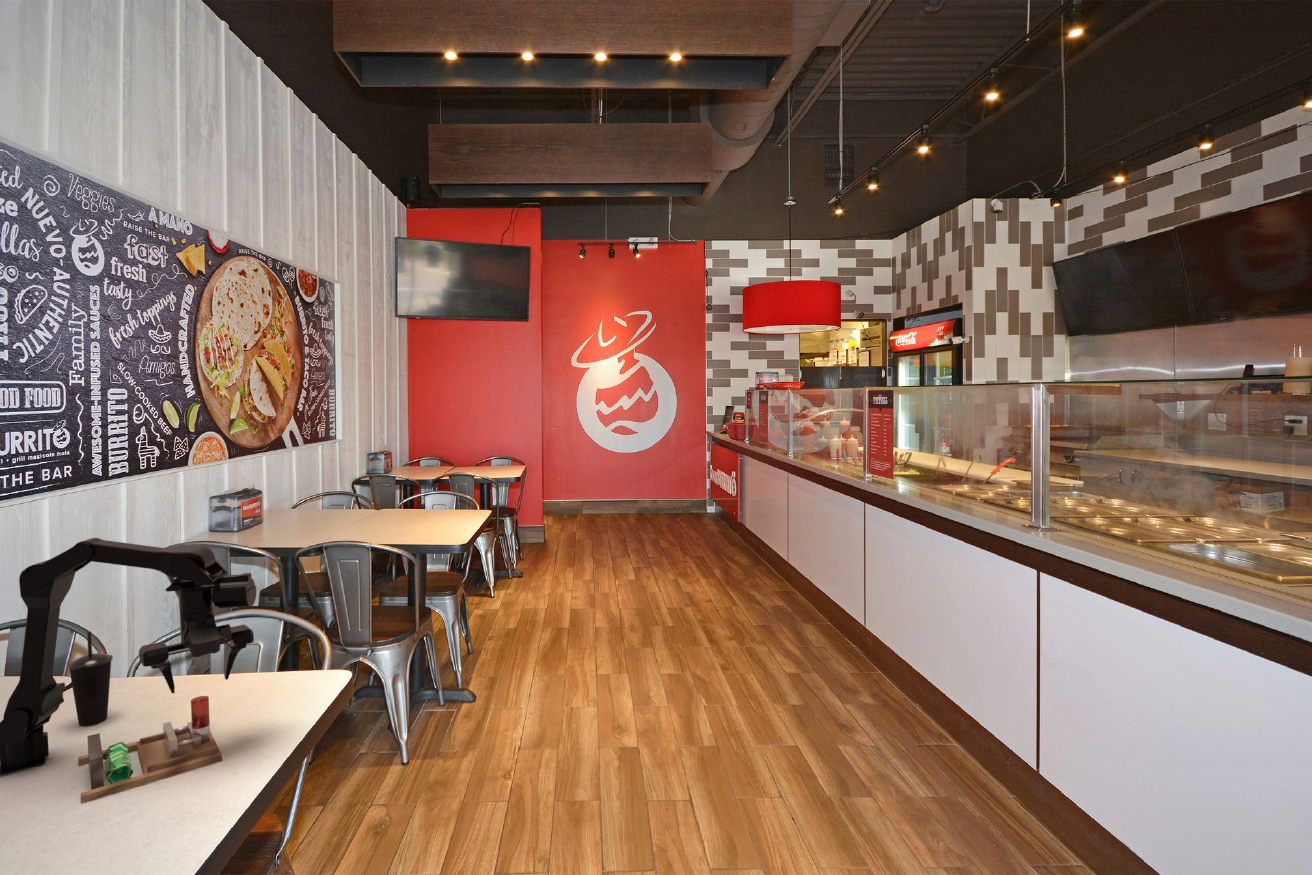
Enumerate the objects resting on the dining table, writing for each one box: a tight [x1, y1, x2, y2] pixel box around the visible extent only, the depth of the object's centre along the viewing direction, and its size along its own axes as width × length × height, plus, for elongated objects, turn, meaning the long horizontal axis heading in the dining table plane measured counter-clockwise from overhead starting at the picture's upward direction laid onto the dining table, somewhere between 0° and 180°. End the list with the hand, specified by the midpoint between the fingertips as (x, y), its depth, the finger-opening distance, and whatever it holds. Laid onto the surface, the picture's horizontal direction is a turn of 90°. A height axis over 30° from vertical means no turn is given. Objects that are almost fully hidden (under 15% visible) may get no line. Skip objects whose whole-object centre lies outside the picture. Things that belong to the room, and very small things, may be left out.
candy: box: [104, 741, 134, 784], centre depth 129 cm, size 12×3×4 cm
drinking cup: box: [67, 631, 114, 727], centre depth 149 cm, size 8×8×20 cm
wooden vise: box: [77, 731, 223, 804], centre depth 132 cm, size 21×18×6 cm
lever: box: [162, 695, 211, 759], centre depth 136 cm, size 7×10×8 cm
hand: (200, 685), depth 138 cm, fingers open, 9 cm apart
